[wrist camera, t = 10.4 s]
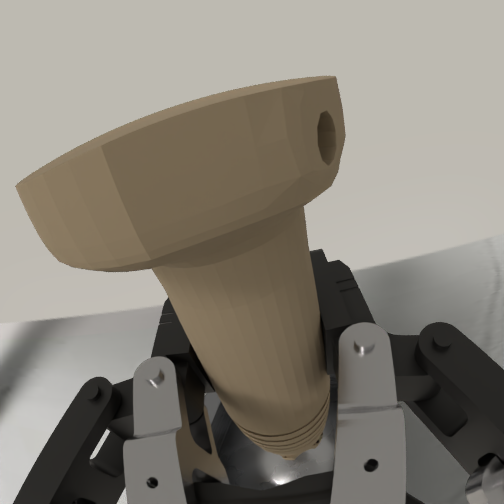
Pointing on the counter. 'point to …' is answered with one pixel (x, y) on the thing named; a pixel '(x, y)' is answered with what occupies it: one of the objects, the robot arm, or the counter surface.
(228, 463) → the grey shallow octagonal dish
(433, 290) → the counter surface
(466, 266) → the counter surface
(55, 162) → the handle
